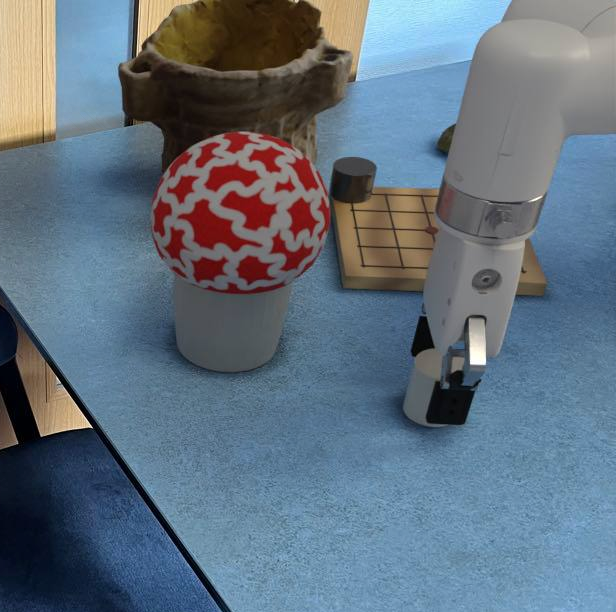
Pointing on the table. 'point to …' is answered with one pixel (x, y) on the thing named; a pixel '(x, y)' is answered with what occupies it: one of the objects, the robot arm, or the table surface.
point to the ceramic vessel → (235, 74)
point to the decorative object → (237, 243)
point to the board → (400, 242)
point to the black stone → (352, 179)
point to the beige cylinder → (425, 384)
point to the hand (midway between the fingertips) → (435, 387)
